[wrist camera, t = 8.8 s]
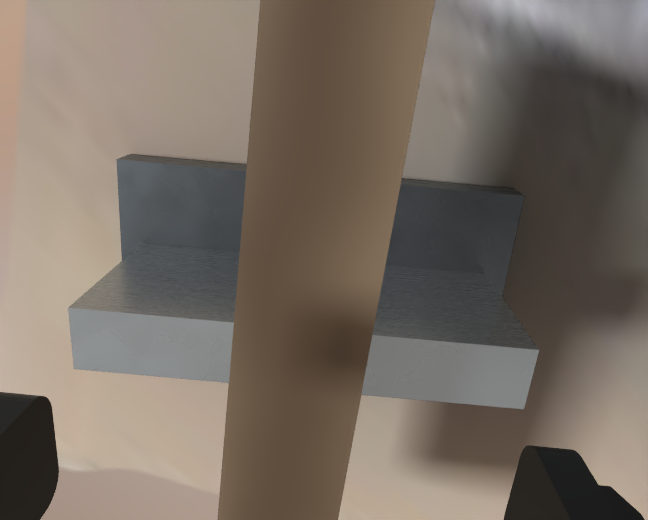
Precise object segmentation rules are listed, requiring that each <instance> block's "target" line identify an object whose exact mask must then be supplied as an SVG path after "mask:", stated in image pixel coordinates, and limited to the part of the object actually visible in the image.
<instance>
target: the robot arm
mask: <svg viewBox="0 0 648 520" xmlns="http://www.w3.org/2000/svg"><path fill="white" fill-rule="evenodd" d="M58 473H59V468H58V458H57V449H56V440H55V432H54V423H53V414H52V407H51V403H50V401H49V399H48V398H47V397H44V396H35V395H25V394H15V393H5V392H0V520H40V519H41V517H42V516H43V514H44V513H45V511H46V510H47V508H48V507H49V505H50V503H51V500H52V498H53V496H54V493H55V490H56V486H57V482H58ZM504 520H644V518H643V517H642V515H641V514H640V513H639V512H638V511H637V510H636V509H635V508H634V507H633V506H631V505H630V504H629V503H628V502H627V501H626V500H625V499H624V498H623V497H621V496H620V495H619V494H618V493H617V492H616V491H615V490H614V489H613V488H611V487H610V486H600V485H598V484H597V482H596V480H595V479H594V477H593V475H592V474H591V472H590V471H589V469H588V467H587V466H586V464H585V462H584V461H583V459H582V457H581V456H580V455H579V454H578V453H577V452H576V451H574V450H569V449H559V448H549V447H539V446H526V447H525V448H524V449H523V451H522V453H521V456H520V460H519V463H518V467H517V471H516V475H515V478H514V482H513V486H512V489H511V493H510V497H509V500H508V504H507V508H506V512H505V516H504Z"/></svg>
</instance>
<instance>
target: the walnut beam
mask: <svg viewBox="0 0 648 520" xmlns="http://www.w3.org/2000/svg"><path fill="white" fill-rule="evenodd" d="M434 3H435V0H260V12H259V24H258V36H257V49H256V61H255V73H254V85H253V97H252V109H251V121H250V133H249V146H248V158H247V170H246V182H245V194H244V206H243V218H242V230H241V243H240V255H239V267H238V279H237V291H236V303H235V315H234V327H233V340H232V352H231V364H230V376H229V388H228V400H227V412H226V424H225V437H224V449H223V461H222V473H221V485H220V499H219V509H218V520H338V516H339V511H340V505H341V500H342V495H343V489H344V484H345V479H346V473H347V468H348V463H349V457H350V452H351V447H352V441H353V436H354V431H355V425H356V420H357V415H358V409H359V404H360V399H361V393H362V388H363V383H364V377H365V372H366V367H367V361H368V356H369V350H370V345H371V340H372V334H373V329H374V324H375V318H376V313H377V308H378V302H379V297H380V292H381V286H382V281H383V276H384V270H385V265H386V260H387V254H388V249H389V244H390V238H391V233H392V228H393V222H394V217H395V212H396V206H397V201H398V196H399V190H400V185H401V180H402V174H403V169H404V164H405V158H406V153H407V148H408V142H409V137H410V132H411V126H412V121H413V115H414V110H415V105H416V99H417V94H418V89H419V83H420V78H421V73H422V67H423V62H424V57H425V51H426V46H427V41H428V35H429V30H430V25H431V19H432V14H433V9H434Z"/></svg>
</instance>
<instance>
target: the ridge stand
mask: <svg viewBox="0 0 648 520" xmlns="http://www.w3.org/2000/svg"><path fill="white" fill-rule="evenodd" d="M246 170H247V165H245V164H234V163H223V162H212V161H200V160H189V159H178V158H167V157H156V156H144V155H133V154H129V155H126V156H124V157H121V158H119V159H117V175H118V194H119V212H120V231H121V249H122V261H121V262H120V263H119V264H118V265H117V266H116V267H114V268H113V269H112V270H111V271H110V272H109V273H108V274H106V275H105V276H104V277H103V278H102V279H101V280H100V281H98V282H97V283H96V284H95V285H94V286H93V287H91V288H90V289H89V290H88V291H87V292H86V293H85V294H83V295H82V296H81V297H80V298H79V299H78V300H77V301H75V302H74V303H73V304H72V305H71V306H70V307H68V311H69V322H70V332H71V343H72V354H73V364H74V369H80V370H91V371H102V372H113V373H124V374H135V375H147V376H158V377H169V378H180V379H191V380H202V381H214V382H225V383H229V376H230V364H231V352H232V340H233V327H234V315H235V303H236V291H237V279H238V267H239V255H240V243H241V230H242V218H243V206H244V194H245V182H246ZM523 201H524V195H523V194H521V193H520V192H518V191H517V190H515V189H514V188H502V187H491V186H480V185H469V184H458V183H447V182H435V181H424V180H413V179H402V180H401V185H400V190H399V196H398V201H397V206H396V212H395V217H394V222H393V228H392V233H391V238H390V244H389V249H388V254H387V260H386V265H385V270H384V276H383V281H382V286H381V292H380V297H379V302H378V308H377V313H376V318H375V324H374V329H373V334H372V340H371V345H370V350H369V356H368V361H367V367H366V372H365V377H364V383H363V388H362V393H361V395H370V396H381V397H392V398H403V399H414V400H425V401H436V402H448V403H459V404H470V405H481V406H492V407H503V408H515V409H524V407H525V403H526V400H527V396H528V392H529V388H530V384H531V380H532V376H533V372H534V369H535V365H536V361H537V357H538V353H539V349H538V347H537V346H536V345H535V343H534V342H533V340H532V339H531V338H530V336H529V335H528V333H527V332H526V330H525V329H524V328H523V326H522V325H521V323H520V322H519V321H518V319H517V318H516V316H515V315H514V314H513V312H512V311H511V309H510V308H509V306H508V305H507V304H506V302H505V301H504V299H503V298H502V296H503V291H504V287H505V282H506V277H507V273H508V268H509V264H510V259H511V255H512V250H513V246H514V241H515V237H516V232H517V228H518V223H519V219H520V214H521V210H522V205H523Z"/></svg>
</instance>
